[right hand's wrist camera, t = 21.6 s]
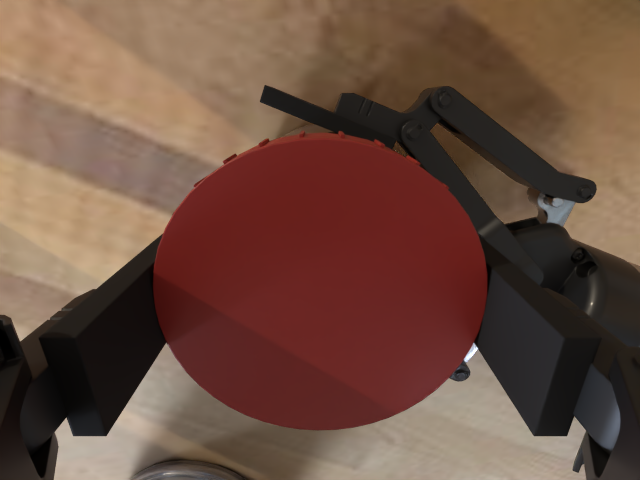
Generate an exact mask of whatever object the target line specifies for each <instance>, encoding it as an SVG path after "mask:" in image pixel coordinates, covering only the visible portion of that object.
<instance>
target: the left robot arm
mask: <svg viewBox="0 0 640 480" xmlns="http://www.w3.org/2000/svg"><path fill="white" fill-rule="evenodd" d="M260 102H261V103H264V104H266V105H269V106H271V107H274V108H276V109H279V110H281V111H283V112H286V113H288V114H291V115H293V116H296V117H298V118H301V119H303V120H306V121H308V122H311V123H313V124H315V125H318V126H320V127H323V128H325V129H328V130H330V131H333V132H335V133H339V131H342V132H343V133H344V134H345V135H349V136H354V137H358V138H362V139H367V140H370V141H372V142H374V141H375V139H376V140H378V141H380V142H381V143H383V144H385V147H388V148H390V149H391V150H392V149H393V146H394V144H395V142H396V141H397V142H398V143H399V144H400V145H401V147H402V148H403V149H404V150H405V152H406V153H407V154H408V155H409V156H410V157H411V158H413V159H415V160H416V161H418V162H420V163H421V164H420V165H419V166H420V167H421V168H423V169H424V170H425V171H427V172H428V173H429V174H431V175H432V176H433V177H435V178H436V179H438V180H439V181H441V182H442V183H444V184H445V185H447V186H448V187H449V189H448V190H449V191H450V193H451V194H452V195H453V196H454V197H455V198H456V199H457V200H458V202H459V203H460V205H461V206H462V207H463V209H464V210H465V212H466V213H467V214H468V215H469V218H470V220H471V222H472V224H473V226H474V228H475V230H476V232H477V234H478V235H480V236H481V237H482V238H483V239H484V240H486V241H487V242H488V243H489V244H490V245H492V246H493V247H494V248H495V249H496V250H498V251H499V252H500V253H501V254H502V255H504V256H505V257H506V258H507V259H508V260H510V261H511V262H512V263H513V264H514V265H516V266H517V267H518V268H519V269H520V270H522V271H523V272H524V273H525V274H526V275H528V276H529V277H530V278H531V279H532V280H534V281H535V282H536V283H537V284H538V285H539V286H541V287H542V288H549V289H551V290H553V291H555V292H557V293H559V294H561V295H563V296H565V297H566V298H568V299H569V300H570V301H571V302H573V303H574V304H575V305H577V306H578V307H579V310H583V311H584V312H585V313H587V314H588V315H589V316H590V318H591V319H594V320H595V321H597V322H598V323H599V324H601V325H602V326H603V327H604V328H606V329H607V330H608V331H609V332H611V333H612V334H613V335H614V336H616V337H617V338H618V339H619V340H621V341H622V342H623V343H624V344H626V345H627V346H628V347H630V346H636V347H640V266H638V265H635V264H633V263H630V262H627V261H625V260H623V259H621V258H619V257H616V256H614V255H611V254H609V253H606V252H604V251H601V250H599V249H596V248H594V247H591V246H589V245H586V244H584V243H581V242H579V241H576V240H574V239H572V238H571V237H570V236H569V234H568V232H567V231H566V229H565V228H564V227H563V225H564V224H565V222H566V220H567V218H568V216H569V214H570V212H571V210H572V208H573V206H574V204H575V202H576V203H585V202H588V201H589V200H590V199H592V198H593V196H594V195H595V193H596V190H597V189H596V184H595V183H594V182H593V181H591V180H588V179H585V178H581V177H578V176H574V175H571V174H567V173H564V172H560V171H557V170H556V169H555V168H553V167H552V166H551V165H550V164H548V163H547V162H546V161H545V160H543V159H542V158H541V157H540V156H538V155H537V154H536V153H534V152H533V151H532V150H531V149H529V148H528V147H527V146H526V145H524V144H523V143H522V142H521V141H519V140H518V139H517V138H515V137H514V136H513V135H512V134H510V133H509V132H508V131H507V130H505V129H504V128H503V127H502V126H500V125H499V124H498V123H497V122H495V121H494V120H493V119H491V118H490V117H489V116H488V115H486V114H485V113H484V112H483V111H481V110H480V109H479V108H478V107H476V106H475V105H474V104H472V103H471V102H470V101H469V100H467V99H466V98H465V97H464V96H462V95H461V94H460V93H459V92H457V91H456V90H455V89H454V88H451V87H449V86H442V87H435V88H428V89H426V90H424V91H423V92H422V93H421V94H420V96H419V98H418V100H417V101H416V102H415V103H414V104H413V105H412V106H411V107H410V108H409V109H408V110H406V111H404V112H401V113H400V112H397V111H395V110H392V109H390V108H387V107H385V106H383V105H380V104H378V103H376V102H373V101H371V100H369V99H366V98H364V97H362V96H359V95H357V94H355V93H342V94H340V97H339V99H338V102H337V105H336V107H335V110H334V113H333V112H331V111H328V110H326V109H323V108H321V107H319V106H316V105H314V104H311V103H309V102H306V101H304V100H302V99H299V98H297V97H294V96H292V95H290V94H287V93H285V92H282V91H280V90H277V89H275V88H273V87H269V86H266V85H265V86H264V90H263V93H262V96H261V100H260ZM436 123H439V124H440V125H441V126H443V127H444V128H445V129H447V130H448V131H449V132H451V133H452V134H453V135H455V136H456V137H457V138H458V139H460V140H461V141H462V142H464V143H465V144H466V145H468V146H469V147H470V148H472V149H473V150H474V151H476V152H477V153H478V154H480V155H481V156H482V157H484V158H485V159H486V160H488V161H489V162H490V163H492V164H493V165H494V166H496V167H497V168H498V169H500V170H501V171H502V172H503V173H505V174H506V175H507V176H509V177H510V178H512V179H513V180H515V181H516V182H518V183H521V184H523V185H525V186H528V187H529V188H528V190H527V195H528V199H529V201H530V202H531V203H532V204H534V205H535V206H536V207H537V208H538V216H537V217H533V218H529V219H525V220H520V221H516V222H512V223H508V224H504V223H503V222H502V221H501V220H500V219H498V218H497V217H496V215H495V214H494V213H493V212H492V210H491V209H490V208H489V207H488V205H487V204H486V203H485V202H484V200H483V199H482V198H481V196H480V195H479V194H478V193H477V191H476V190H475V189H474V187H473V186H472V185H471V184H470V182H469V181H468V180H467V178H466V177H465V176H464V175H463V173H462V172H461V171H460V169H459V168H458V167H457V166H456V164H455V163H454V162H453V160H452V159H451V158H450V157H449V155H448V154H447V153H446V151H445V150H444V149H443V148H442V146H441V145H440V144H439V142H438V141H437V140H436V139H435V137H434V136H433V135H432V133H431V132H430V130H431V129H432V128H433V126H434V125H435V124H436ZM477 350H478V348H477V346H476V345H475V343H473V345H472V347H471V349H470V350H469V352H468V354H467V355H466V357H465V358H464V360H463V361H462V363H461V364H460V365H459V367H458V368H457V369H456V370H455V371H454V373H453V374H452V375H451V376H450V377H449V378H450V379H453V380H455V381H464V380H466V379H467V378H468V377H469V375H470V370H469V368H468V366H467V365H466V363H467V362H468V361H469V359H470V358H471V357H472V356H473V355H474V354H475V353H476V351H477ZM131 480H245V479H244V478H242V477H241V476H239V475H238V474H236V473H234V472H232V471H230V470H228V469H226V468H223V467H221V466H218V465H214V464H210V463H206V462H200V461H190V460H179V461H169V462H163V463H159V464H156V465H153V466H150V467H148V468H146V469H144V470H142V471H141V472H139V473H138V474H136V475H135V476H134V477H133V478H132V479H131Z"/></svg>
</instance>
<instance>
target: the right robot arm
mask: <svg viewBox="0 0 640 480" xmlns="http://www.w3.org/2000/svg"><path fill="white" fill-rule="evenodd" d="M162 236H163V234H162V235H161V236H159V237H158V238H157V239H156V240H155V241H153V242H152V243H151V244H150V245H149V246H147V247H146V248H145V249H144V250H143V251H141V252H140V253H139V254H138V255H137V256H135V257H134V258H133V259H132V260H131V261H129V262H128V263H127V264H126V265H125V266H124V267H122V268H121V269H120V270H119V271H118V272H116V273H115V274H114V275H113V276H112V277H110V278H109V279H108V280H107V281H106V282H104V283H103V284H102V285H101V286H100V287H98V288H97V289H92V290H90V291H88V292H86V293H84V294H82V295H80V296H78V297H76V298H75V299H73V300H72V301H71V302H69V303H68V304H67V305H66V306H64V307H63V308H62V310H61V311H58V312H57V313H56V314H54V315H53V316H52V317H51V318H50V320H47V321H46V322H44V323H43V324H42V325H41V326H39V327H38V328H37V329H36V330H34V331H33V332H32V333H31V334H29V335H28V336H27V337H26V338H24V339H23V340H22V341H21V342H20V341H19V338H18V336H17V333H16V330H15V328H14V325H13V323H12V320H11V318H9V317H7V316H5V315H0V480H54V473H55V467H56V460H57V453H58V442H57V438H56V435H55V433H54V432H55V431H56V429H57V428H58V427H59V426H60V424H61V423H62V422H63V421H64V420H65V418H66V417H67V420H68V423H69V425H70V428H71V431H72V434H73V436H107V434H108V433H109V431H110V429H111V428H112V426H113V425H114V423H115V422H116V420H117V419H118V417H119V415H120V414H121V412H122V411H123V409H124V408H125V406H126V404H127V403H128V401H129V400H130V398H131V397H132V395H133V394H134V392H135V390H136V389H137V387H138V386H139V384H140V383H141V381H142V379H143V378H144V376H145V375H146V373H147V372H148V370H149V369H150V367H151V365H152V364H153V362H154V361H155V359H156V358H157V356H158V354H159V353H160V351H161V350H162V348H163V347H164V345H165V344H166V340H165V338H164V335H163V333H162V330H161V328H160V325H159V322H158V318H157V314H156V309H155V304H154V295H153V274H154V264H155V259H156V255H157V250H158V246H159V244H160V241H161V238H162ZM478 236H479V239H480V242H481V245H482V248H483V252H484V255H485V261H486V268H487V300H486V306H485V311H484V316H483V320H482V323H481V326H480V330H479V332H478V334H477V337H476V339H475V341H474V343H475V345H476V346H477V348H478V349H479V351H480V353H481V354H482V356H483V357H484V359H485V360H486V362H487V364H488V365H489V367H490V368H491V370H492V371H493V373H494V374H495V376H496V378H497V379H498V381H499V382H500V384H501V385H502V387H503V388H504V390H505V392H506V393H507V395H508V396H509V398H510V399H511V401H512V403H513V404H514V406H515V407H516V409H517V410H518V412H519V413H520V415H521V417H522V418H523V420H524V421H525V423H526V424H527V426H528V428H529V429H530V431H531V432H532V434H533V435H534V436H567V435H568V432H569V429H570V426H571V423H572V421H573V418H574V416H575V417H576V419H577V420H578V421H579V422H580V423H581V425H582V426H583V427H584V428H585V430H586V433H585V435H584V438H583V440H582V443H581V446H580V448H579V451H578V454H577V456H576V459H575V461H574V465H573V471H575V472H578V473H579V470H580V468H581V465H582V464H584V465H585V472H586V479H587V480H640V347H636V346H630V347H628V346H627V345H626V344H624V343H623V342H622V341H621V340H619V339H618V338H617V337H616V336H614V335H613V334H612V333H611V332H609V331H608V330H607V329H606V328H604V327H603V326H602V325H601V324H599V323H598V322H597V321H595V320H594V319H591V318H590V316H589V315H588V314H587V313H585V312H584V311H583V310H579V307H578V306H577V305H575V304H574V303H573V302H571V301H570V300H569V299H568V298H566V297H565V296H563V295H561V294H559V293H557V292H555V291H553V290H551V289H549V288H542V287H541V286H539V285H538V284H537V283H536V282H535V281H534V280H532V279H531V278H530V277H529V276H528V275H526V274H525V273H524V272H523V271H522V270H520V269H519V268H518V267H517V266H516V265H514V264H513V263H512V262H511V261H510V260H508V259H507V258H506V257H505V256H504V255H502V254H501V253H500V252H499V251H498V250H496V249H495V248H494V247H493V246H492V245H490V244H489V243H488V242H487V241H486V240H484V239H483V238H482V237H481V236H480V235H478Z"/></svg>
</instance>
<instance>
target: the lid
mask: <svg viewBox="0 0 640 480" xmlns="http://www.w3.org/2000/svg"><path fill="white" fill-rule="evenodd" d="M223 163H224V165H223V166H221V167H220V168H218V169H217V170H215V171H214V172H212V173H211V174H210V175H208V176H206V177H205V178H203V179H202V180H200V181H199V182H197V183H196V184H195V185H194V187H195V188H194V189H193V190H192V191H191V192H190V193H189V194H188V195H187V196H186V198H185V199H184V200H183V201H182V203H181V204H180V205H179V206H178V208H177V209H176V211H175V212H174V213H173V216H172V218H171V219H170V221H169V223H168V225H167V226H166V228H165V231H164V233H163V236H162V238H161V241H160V244H159V246H158V250H157V255H156V259H155V264H154V274H153V295H154V304H155V309H156V314H157V318H158V322H159V325H160V328H161V330H162V333H163V335H164V338H165V340H166V342H167V344H168V346H169V347H170V349H171V351H172V353H173V354H174V356H175V358H176V359H177V360H178V362H179V363H180V364H181V366H182V367H183V368H184V370H185V371H186V372H187V373H188V374H189V375H190V376H191V377H192V378H193V379H194V380H195V381H196V382H197V384H198V385H199V386H201V387H202V388H203V389H204V390H206V391H207V392H208V393H209V394H211V395H212V396H213V397H214V398H216V399H218V400H219V401H221V402H222V403H224V404H225V405H227V406H229V407H230V408H232V409H234V410H236V411H238V412H240V413H243V414H245V415H247V416H250V417H252V418H255V419H258V420H260V421H263V422H267V423H270V424H274V425H278V426H283V427H289V428H295V429H305V430H337V429H345V428H353V427H358V426H362V425H366V424H371V423H374V422H377V421H380V420H383V419H386V418H389V417H391V416H393V415H396V414H398V413H400V412H402V411H405V410H407V409H408V408H410V407H412V406H413V405H415V404H417V403H418V402H420V401H422V400H423V399H424V398H426V397H427V396H429V395H430V394H431V393H433V392H434V391H435V390H437V389H438V388H439V387H440V386H441V385H442V384H443V383H444V382H445V381H446V380H447V379H448V378H449V377H450V376H451V375H452V374H453V373H454V371H455V370H456V369H457V368H458V367H459V365H460V364H461V363H462V361H463V360H464V358H465V357H466V355H467V354H468V352H469V350H470V349H471V347H472V345H473V343H474V341H475V339H476V337H477V334H478V332H479V330H480V326H481V323H482V320H483V316H484V311H485V306H486V300H487V268H486V261H485V255H484V252H483V248H482V245H481V242H480V239H479V236H478V234H477V232H476V230H475V228H474V226H473V224H472V222H471V220H470V218H469V215H468V214H467V213H466V212H465V210H464V209H463V207H462V206H461V205H460V203H459V202H458V200H457V199H456V198H455V197H454V196H453V195H452V194H451V193H450V191H449V190H448V189H449V187H448V186H447V185H445V184H444V183H442V182H441V181H439V180H438V179H436V178H435V177H433V176H432V175H431V174H429V173H428V172H427V171H425V170H424V169H423V168H421V167H420V166H419V165H420V164H421V163H420V162H418V161H416V160H415V159H413V158H411V157H410V156H408V155H407V157H404V156H402V155H400V154H399V153H397V152H395V151H393V150H391V149H390V148H388V147H385V144H383V143H381V142H380V141H378V140H376V139H375V141H374V142H372V141H370V140H367V139H362V138H358V137H354V136H349V135H345V134H344V133H343V132H342V131H339V133H338V134H333V133H307V134H305V131H301V132H300V134H298V135H292V136H287V137H281V138H278V139H275V140H272V141H269V139H265V140H263V141H262V142H260V143H259V145H258V146H255V147H253V148H251V149H249V150H247V151H245V152H243V153H241V154H240V155H238V156H237V155H236V154H234V155H232V156H231V157H229V158H227V159H226V160H224V161H223Z"/></svg>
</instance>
